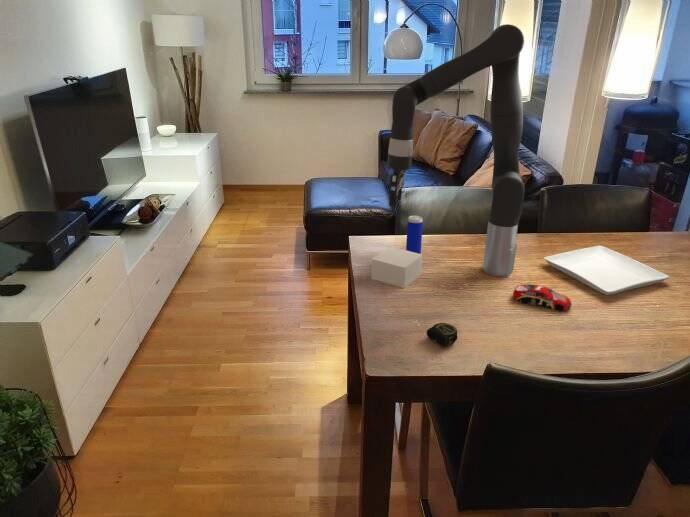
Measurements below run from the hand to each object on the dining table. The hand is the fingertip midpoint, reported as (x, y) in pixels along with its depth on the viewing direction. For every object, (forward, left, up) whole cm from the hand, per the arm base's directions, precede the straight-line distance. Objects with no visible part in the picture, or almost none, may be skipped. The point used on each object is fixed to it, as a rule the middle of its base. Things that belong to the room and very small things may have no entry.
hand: (395, 202), depth 170 cm
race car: (-50, -1, -23) cm, 54 cm away
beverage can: (-4, -9, -22) cm, 24 cm away
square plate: (-62, -31, -23) cm, 72 cm away
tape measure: (-33, +35, -22) cm, 53 cm away
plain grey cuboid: (-6, +7, -22) cm, 24 cm away
